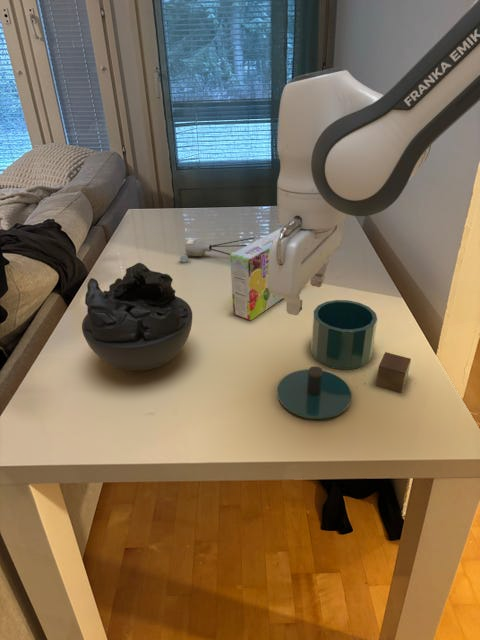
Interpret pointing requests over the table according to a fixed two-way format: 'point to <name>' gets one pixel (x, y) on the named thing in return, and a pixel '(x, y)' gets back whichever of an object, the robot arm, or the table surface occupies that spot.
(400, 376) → the block
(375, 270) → the table surface
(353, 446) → the table surface
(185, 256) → the reed diffuser
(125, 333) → the bowl of black rocks
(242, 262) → the snack box
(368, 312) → the pot
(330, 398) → the lid
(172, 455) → the table surface
